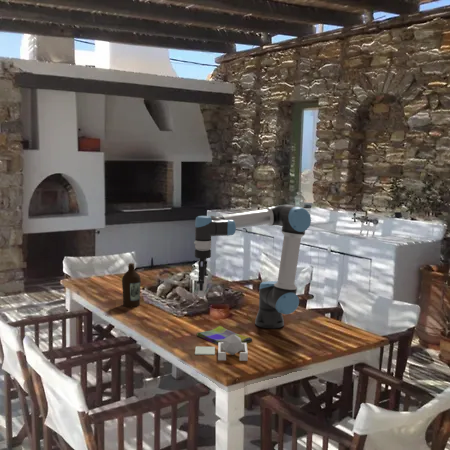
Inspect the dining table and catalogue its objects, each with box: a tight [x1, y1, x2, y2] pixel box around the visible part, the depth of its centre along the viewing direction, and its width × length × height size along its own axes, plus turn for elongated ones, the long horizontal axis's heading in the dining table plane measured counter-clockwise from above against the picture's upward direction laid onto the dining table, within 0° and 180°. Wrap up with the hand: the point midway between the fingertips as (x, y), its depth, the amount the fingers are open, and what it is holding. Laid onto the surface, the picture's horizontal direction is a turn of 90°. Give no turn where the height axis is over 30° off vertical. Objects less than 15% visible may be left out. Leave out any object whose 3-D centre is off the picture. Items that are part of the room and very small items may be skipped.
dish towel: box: [196, 325, 253, 346], centre depth 277 cm, size 18×24×3 cm
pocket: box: [217, 342, 249, 362], centre depth 255 cm, size 13×13×4 cm
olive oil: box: [121, 262, 142, 308], centre depth 327 cm, size 11×11×25 cm
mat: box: [194, 345, 216, 356], centre depth 259 cm, size 9×9×1 cm
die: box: [223, 334, 242, 356], centre depth 255 cm, size 8×9×10 cm
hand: (202, 293), depth 268 cm, fingers open, 13 cm apart
